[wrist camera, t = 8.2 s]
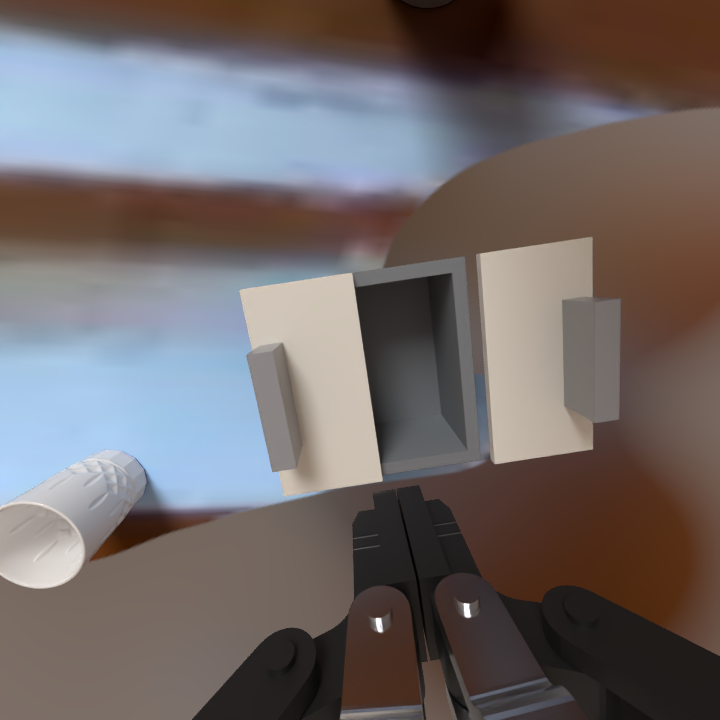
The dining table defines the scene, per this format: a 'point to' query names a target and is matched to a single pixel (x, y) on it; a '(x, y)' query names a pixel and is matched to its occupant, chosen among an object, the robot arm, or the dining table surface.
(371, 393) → the box
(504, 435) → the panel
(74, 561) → the white cup
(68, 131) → the dining table surface
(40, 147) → the dining table surface
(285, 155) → the dining table surface
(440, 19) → the dining table surface
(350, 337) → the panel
